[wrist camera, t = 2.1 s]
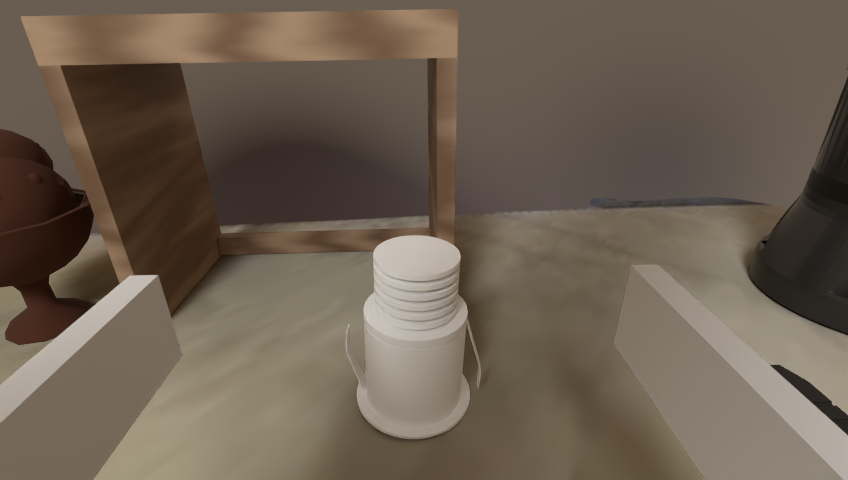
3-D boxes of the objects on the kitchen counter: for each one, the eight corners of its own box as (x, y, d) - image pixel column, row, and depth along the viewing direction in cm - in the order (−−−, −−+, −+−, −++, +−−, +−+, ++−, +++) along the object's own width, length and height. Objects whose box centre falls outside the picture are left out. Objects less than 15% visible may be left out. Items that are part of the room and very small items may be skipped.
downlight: (337, 438, 24) (325, 284, 20) (360, 354, 30) (354, 223, 26) (481, 447, 24) (500, 293, 19) (473, 360, 30) (487, 229, 26)
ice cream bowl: (-53, 328, 34) (-168, 136, 27) (111, 273, 41) (50, 113, 35) (-39, 394, 28) (-186, 164, 21) (151, 316, 35) (86, 128, 29)
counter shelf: (440, 244, 46) (441, 18, 37) (453, 324, 33) (457, 9, 24) (213, 251, 45) (155, 23, 36) (138, 334, 33) (20, 16, 24)
